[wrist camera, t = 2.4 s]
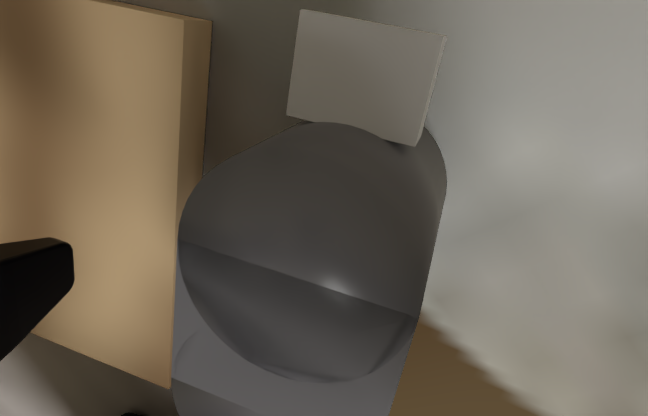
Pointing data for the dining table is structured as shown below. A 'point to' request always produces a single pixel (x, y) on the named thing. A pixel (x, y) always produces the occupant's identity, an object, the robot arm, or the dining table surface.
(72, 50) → the oak board
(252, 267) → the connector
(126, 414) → the battery
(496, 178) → the dining table surface
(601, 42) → the dining table surface
